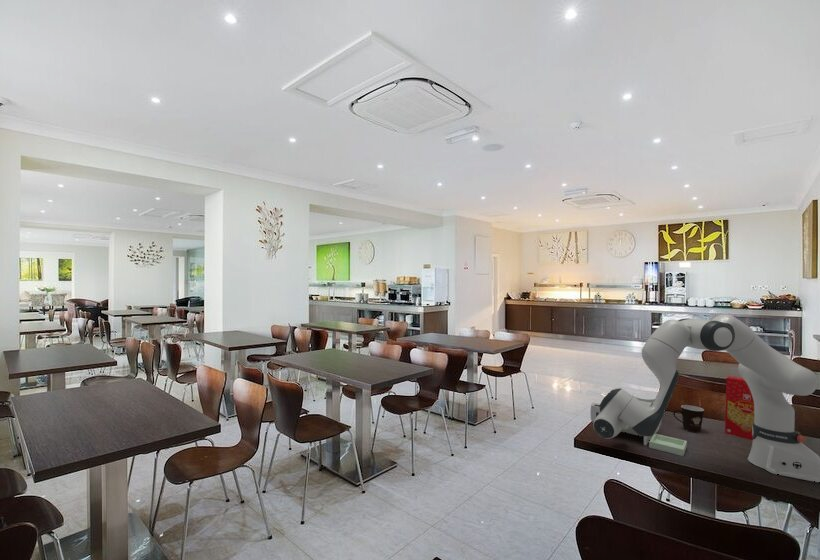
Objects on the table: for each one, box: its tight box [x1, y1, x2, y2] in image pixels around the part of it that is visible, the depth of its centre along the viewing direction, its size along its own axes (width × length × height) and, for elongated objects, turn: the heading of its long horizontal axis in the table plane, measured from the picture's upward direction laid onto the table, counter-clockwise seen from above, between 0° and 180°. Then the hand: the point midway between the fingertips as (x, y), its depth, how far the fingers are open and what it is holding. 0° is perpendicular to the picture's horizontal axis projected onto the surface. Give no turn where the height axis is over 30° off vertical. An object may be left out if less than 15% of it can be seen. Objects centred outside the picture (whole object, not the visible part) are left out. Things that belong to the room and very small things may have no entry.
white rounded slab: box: [631, 393, 656, 405], centre depth 185 cm, size 10×10×15 cm
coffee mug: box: [673, 404, 705, 434], centre depth 185 cm, size 12×9×10 cm
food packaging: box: [724, 375, 754, 441], centre depth 177 cm, size 15×5×25 cm, turn 41°
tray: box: [648, 433, 688, 457], centre depth 163 cm, size 12×12×2 cm
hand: (622, 408), depth 165 cm, fingers closed on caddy, 5 cm apart
